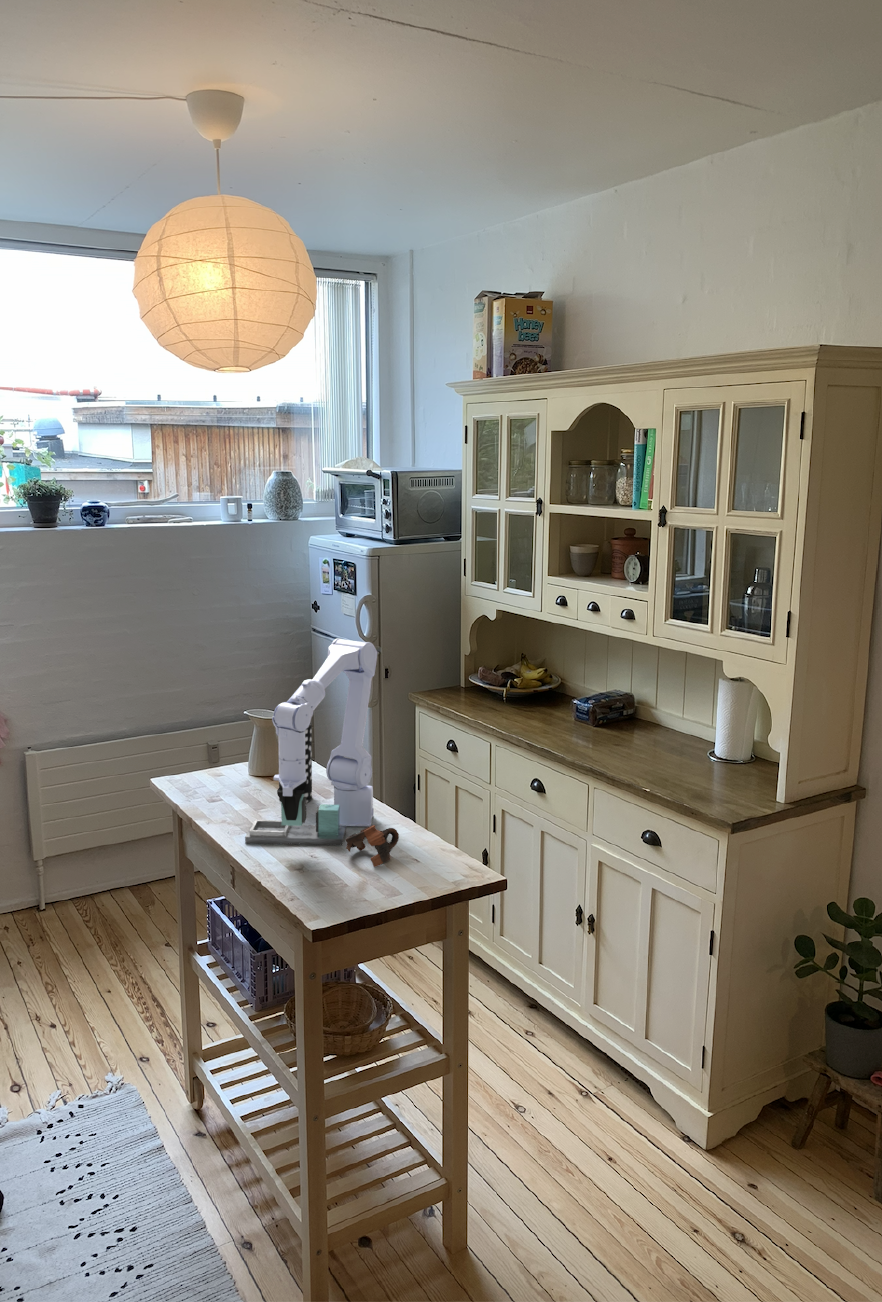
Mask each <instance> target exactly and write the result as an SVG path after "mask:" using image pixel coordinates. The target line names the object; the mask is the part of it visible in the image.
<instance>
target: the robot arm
mask: <svg viewBox="0 0 882 1302" xmlns="http://www.w3.org/2000/svg"><path fill="white" fill-rule="evenodd" d="M327 648H328V650H327V657H326V659H325V661H324V662H323V664H321V666H320V668H319V669H318V670H317V672H316V674H315V675H314V676H313V678H312V679H311V678H309V679H305V680H303V682H302V683H301V685H299V687H298V688H297V689H296V690H295V691H294V693H293V694H292V695H291V697H289V699H288V700H287V701H283V702H281V703H279V704H278V705H277V706H276V707H275V708H274V711H273V713H272V714H273V716H271V722H272V724H273V726H274V727H275V734H276V736H277V737H278V736H279V748H278V774H275V775H274V776H273V781H276V782H277V781H278V783H279V782H280V784H281V786H282V787H283V788H279V787H278V788H277V791H276V795H277V796H278V799H279V798H280V800H281V802H282V804H283V808H284V812H285V816H286V820H296V818H297V814H298V808H299V802H300V798H301V796H302V794H303V792H304V788H305V786H306V784H307V780H306V774H305V730H306V729H307V728H308V727H309V724H310V722H312V717H313V716H314V711H315V709H316V708H317V707H318V706H319V705H320V704H321V702H322V701H323V700H324V698H325V697H326V690H325V689H326V688H327V687H329V685H330V684H332V682H333V681H334V680H335V679H336V678H337V677H338V676H339V675H340V674H341V673H345V675H346V676H347V678H348V680H349V682H348V688H347V695H346V702H345V711H344V716H343V717H344V718H343V723H342V724H343V725H342V733H341V741H340V744H339V745H338V746H337V747H335V748H334V749H332V750H331V751H330V757H329V760H328V762H327V765H326V770H325V771H326V777H327V779H328V781H330V783H331V786H333V805H340V826H346V827H365V828H368V827H370V826H372V821H373V816H374V812H375V810H374V807H373V806H374V803H373V802H374V788H373V786H372V785H368V784H369V783H370V782H371V780H372V779H371V778H372V775H373V769H372V759H373V758H372V755H371V754H370V753H369V752H368V751H367V750H366V749H365V747H364V746H363V745H364V739H365V731H366V725H367V724H366V723H367V718H368V717H367V716H368V710H369V701H370V695H371V686H372V681H373V680H372V679H373V677H374V676H375V675H376V673H375V672H376V668H377V660H378V650H377V649H376V647H375V645H374V644H373V642H370V641H359V640H351V639H350V640H349V639H343V638H341V637H337V638H335V639H334V640H333V641H332V642H331V644H330V645H329V646H328V647H327ZM280 800H279V801H280Z"/></svg>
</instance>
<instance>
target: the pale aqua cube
mask: <svg viewBox="0 0 882 1302" xmlns="http://www.w3.org/2000/svg"><path fill="white" fill-rule="evenodd" d="M280 805H281V806H280V809H281V816H280V817H281V821H282V825H289V826H302V825H304V824H305V823H306V820H307V817H308V816H307V803H306V797H304V794H302V796H301V798H300V802H299V808H298V814H297V818H296V820H286V816H285V812H284V808H283V804H282V802H281V803H280Z"/></svg>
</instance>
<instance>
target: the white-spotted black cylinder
mask: <svg viewBox="0 0 882 1302" xmlns="http://www.w3.org/2000/svg"><path fill="white" fill-rule="evenodd" d="M312 731H313V730H312V721H310V724H309V727H308V728H307V729H306V730H305V774H306V780H307V784H306V786H305V788H304V792H303V794H304V797H306V804H307V803H309V802H311V801H312V800H313V764H312V763H313V751H312V750H313V749H312V747H313V746H312V745H313V740H312V736H313V733H312ZM277 737H278V739H277V740H278V749H279V736H277ZM278 788H283V787H282V786H281V784H280V782H279V781H278ZM278 800H279V802H281V800H280V798H279V797H278Z"/></svg>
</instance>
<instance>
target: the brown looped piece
mask: <svg viewBox="0 0 882 1302" xmlns="http://www.w3.org/2000/svg"><path fill="white" fill-rule="evenodd" d="M376 827H377V826H376V825H372V824H371V826H369V827H365V828H363V829H360V832H358V833H356V832H355V833H353V834H351V835H349V836H347V837H346V838H344V841H345V843H346V846H345V849H346V850H347V851H348V852H349V853H351V851H352V850H351V849H352V848H356V849H357V850H358V851H360V852H362V851H364V850H365V849H366V843H365V842H364V841H365V839H366V841H367V843H368V845H369V846H371V847H374V848H375V850H376V852H377V854H376V855H373V856H371V857H370V862H371V863H372V865H373V868H376V867H379V866H380V865H382V864H385V863H387V862H389V861H390V860H391V851H392V850H393V848H395V846H396V845H397V844H398V842H399V838H400V834H399V832H398V830H397V829H396V828H394V827H389V828H386V829H382V830H379V829H377V828H376ZM389 835H391V840H390V841H389V842H388V837H389Z"/></svg>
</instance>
